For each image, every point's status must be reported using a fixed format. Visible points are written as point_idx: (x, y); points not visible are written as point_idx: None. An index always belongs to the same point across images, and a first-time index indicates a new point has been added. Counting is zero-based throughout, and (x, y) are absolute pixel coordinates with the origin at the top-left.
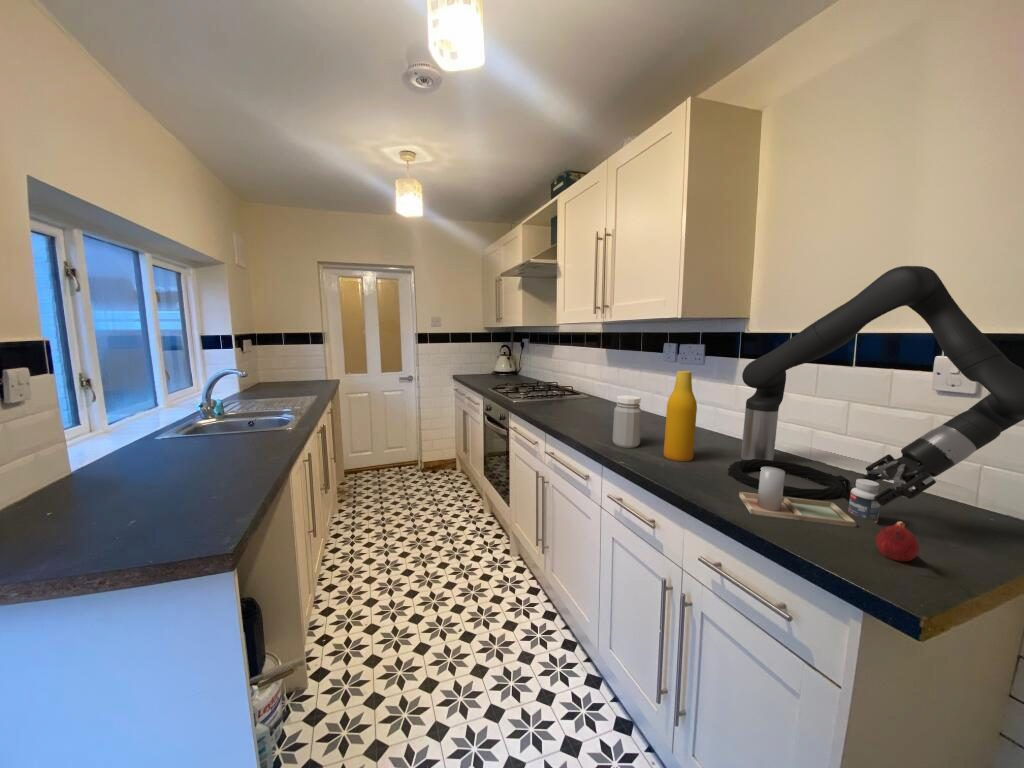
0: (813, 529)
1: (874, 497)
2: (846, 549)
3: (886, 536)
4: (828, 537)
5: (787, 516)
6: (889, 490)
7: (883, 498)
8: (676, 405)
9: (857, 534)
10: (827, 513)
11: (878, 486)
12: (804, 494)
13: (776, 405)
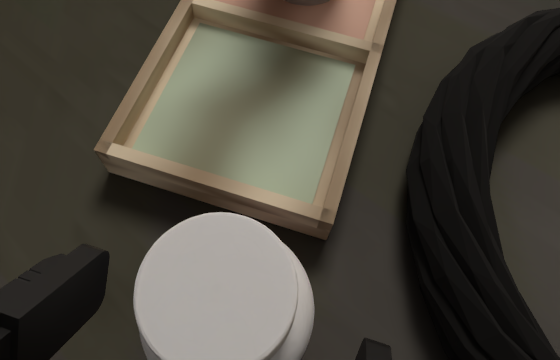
0: None
1: (101, 249)
2: (12, 48)
3: None
4: (96, 53)
5: None
6: (5, 302)
7: (39, 263)
8: None
9: (96, 170)
10: (240, 141)
11: (139, 327)
12: (424, 149)
13: None
